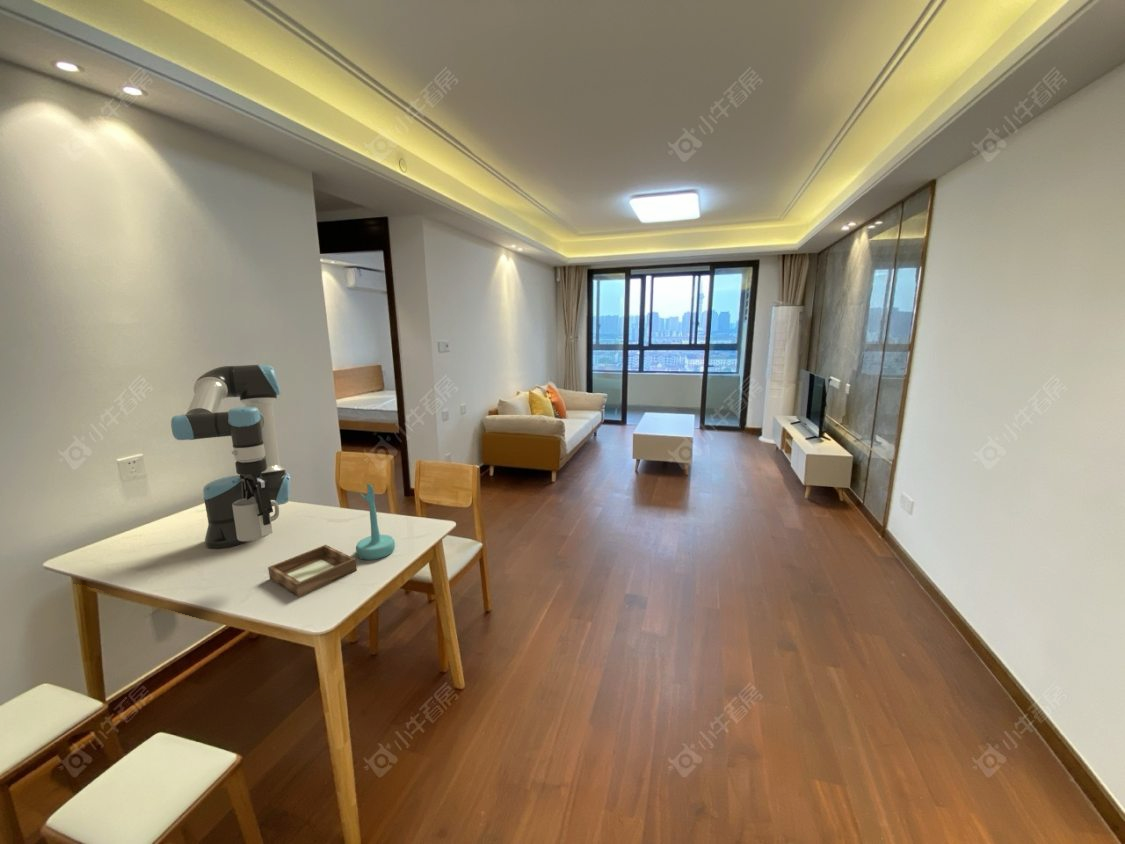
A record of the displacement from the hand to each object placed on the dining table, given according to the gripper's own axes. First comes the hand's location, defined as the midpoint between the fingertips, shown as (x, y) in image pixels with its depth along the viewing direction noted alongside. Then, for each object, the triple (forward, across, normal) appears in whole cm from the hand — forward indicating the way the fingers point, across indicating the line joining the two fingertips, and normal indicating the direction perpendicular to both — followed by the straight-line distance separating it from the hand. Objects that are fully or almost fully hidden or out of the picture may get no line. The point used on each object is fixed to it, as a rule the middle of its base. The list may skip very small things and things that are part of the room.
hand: (260, 530), depth 137 cm
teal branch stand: (+16, +12, +30) cm, 36 cm away
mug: (+1, 0, 0) cm, 1 cm away
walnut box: (+16, +10, +10) cm, 21 cm away
